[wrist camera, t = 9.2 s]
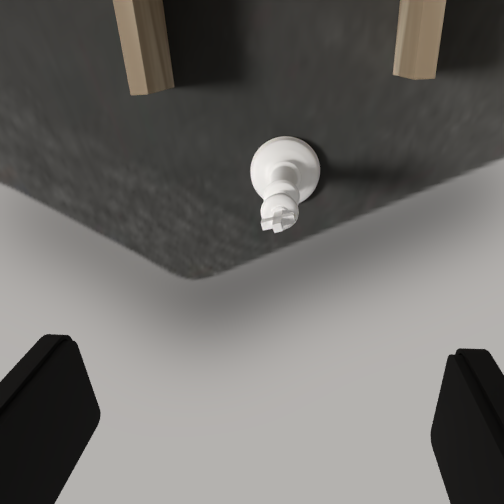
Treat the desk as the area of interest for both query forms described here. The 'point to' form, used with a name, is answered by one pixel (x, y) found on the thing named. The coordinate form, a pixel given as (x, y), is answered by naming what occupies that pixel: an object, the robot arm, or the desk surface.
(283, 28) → the desk surface
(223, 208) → the desk surface
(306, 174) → the chess piece
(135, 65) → the open-side wooden frame
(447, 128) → the desk surface
